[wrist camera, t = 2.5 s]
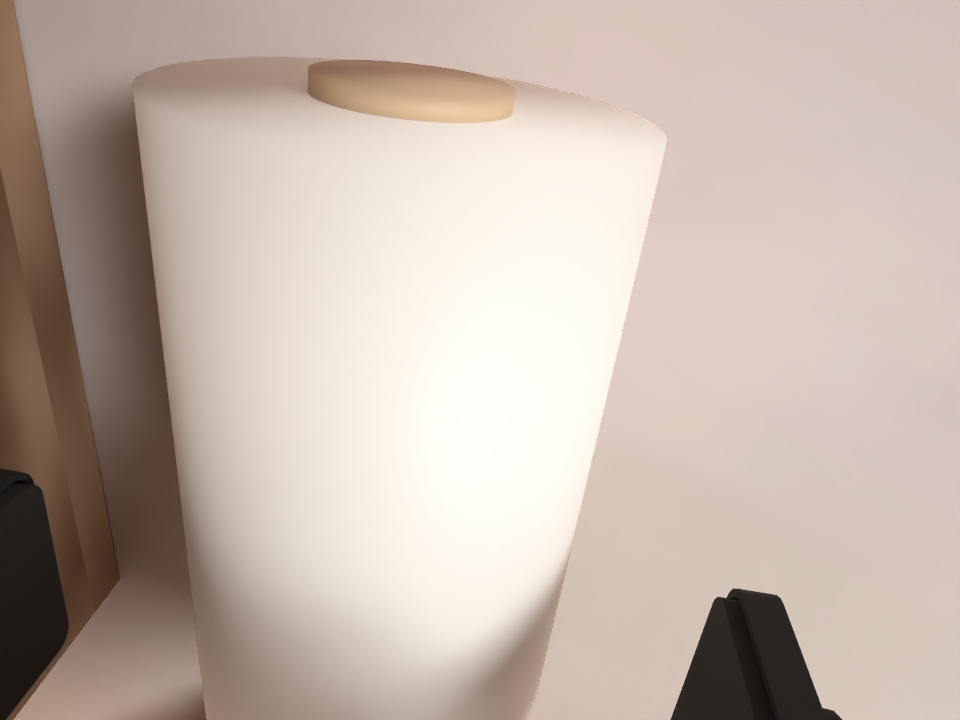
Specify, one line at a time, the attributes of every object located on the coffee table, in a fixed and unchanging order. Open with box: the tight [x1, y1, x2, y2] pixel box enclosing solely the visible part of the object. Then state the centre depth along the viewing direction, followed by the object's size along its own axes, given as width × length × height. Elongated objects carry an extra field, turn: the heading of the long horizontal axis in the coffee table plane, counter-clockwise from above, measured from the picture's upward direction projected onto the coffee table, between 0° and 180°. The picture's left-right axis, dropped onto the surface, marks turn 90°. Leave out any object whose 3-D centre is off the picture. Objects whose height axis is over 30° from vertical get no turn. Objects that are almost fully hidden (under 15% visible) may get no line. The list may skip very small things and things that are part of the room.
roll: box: [132, 57, 667, 720], centre depth 11 cm, size 12×6×6 cm, turn 174°
